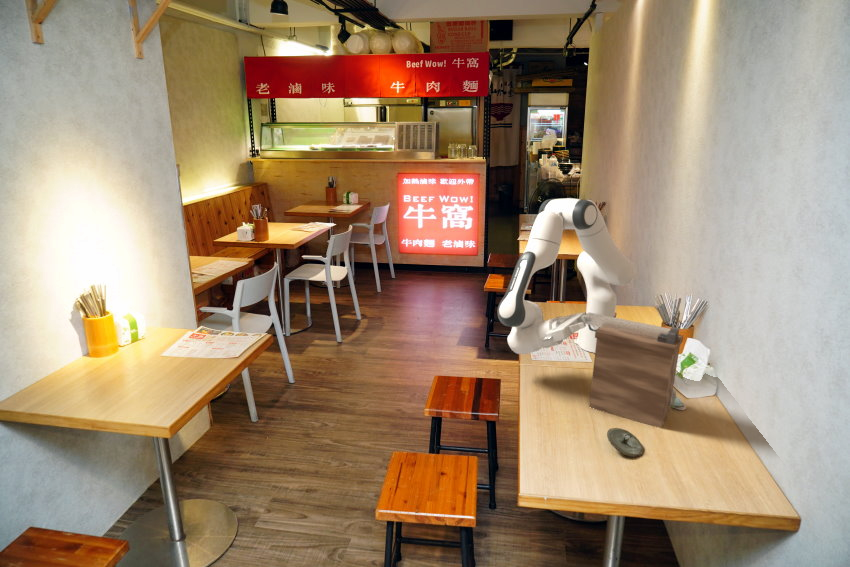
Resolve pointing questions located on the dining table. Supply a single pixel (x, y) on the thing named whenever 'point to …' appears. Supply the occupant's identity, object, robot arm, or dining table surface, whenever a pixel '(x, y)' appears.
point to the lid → (625, 442)
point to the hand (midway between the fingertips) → (589, 320)
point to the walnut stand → (635, 374)
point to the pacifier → (677, 401)
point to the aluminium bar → (626, 325)
